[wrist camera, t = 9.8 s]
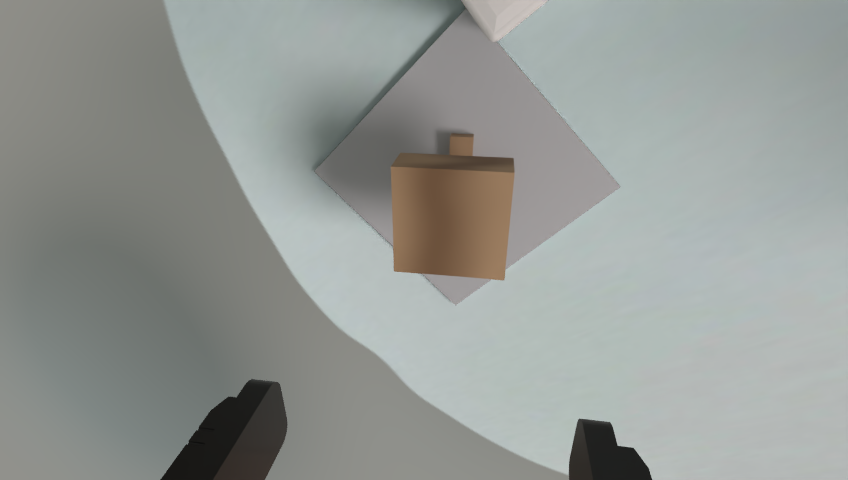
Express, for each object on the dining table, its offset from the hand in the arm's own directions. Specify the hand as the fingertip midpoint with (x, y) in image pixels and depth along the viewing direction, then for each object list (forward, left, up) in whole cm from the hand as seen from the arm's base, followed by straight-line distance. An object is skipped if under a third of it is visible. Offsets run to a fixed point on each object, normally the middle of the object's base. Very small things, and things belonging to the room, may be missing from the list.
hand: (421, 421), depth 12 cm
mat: (0, 0, -20) cm, 20 cm away
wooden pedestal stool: (0, 0, -20) cm, 20 cm away
